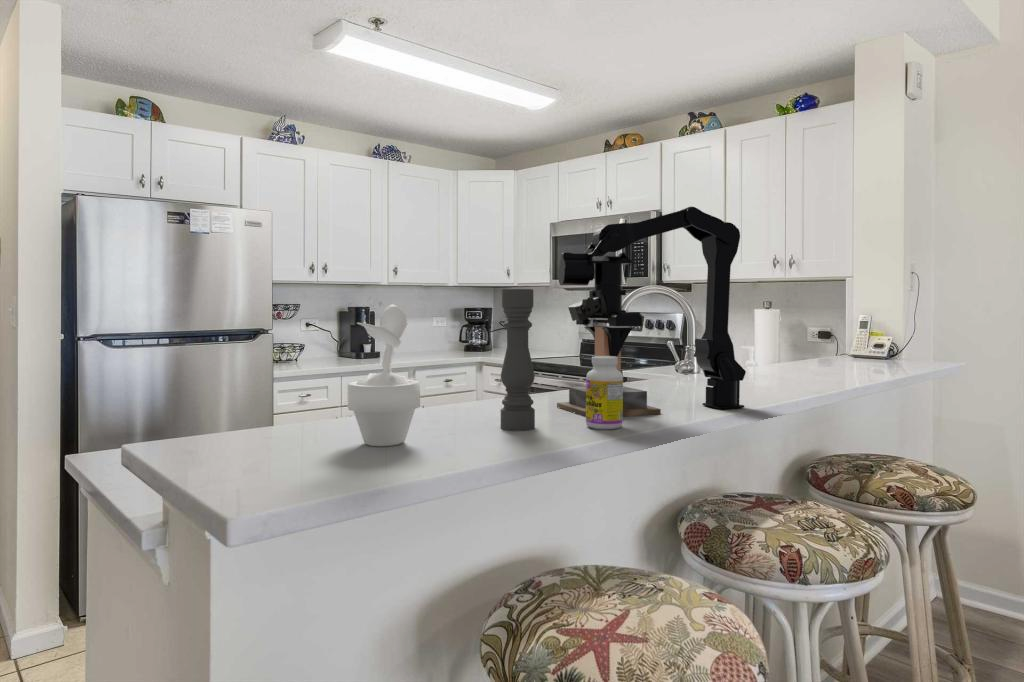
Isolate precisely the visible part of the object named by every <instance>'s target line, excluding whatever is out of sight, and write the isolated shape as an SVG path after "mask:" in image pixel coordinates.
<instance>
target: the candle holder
mask: <svg viewBox="0 0 1024 682" xmlns="http://www.w3.org/2000/svg"><path fill="white" fill-rule="evenodd" d="M501 308H502V310H503V311H502V312H503V313H504V315H505V317H506V320H505V321H504V322H503V324H502V326H503V327H504V328H505V331H506V350H505V354H504V359H503V363H502V367H501V372H500V380H501V381H500V382H501V383H502V384H503V386H504V387H505V390H504V391H505V392H506V395H505V396H504V398H503V399H502V401H501V404H502V405H503V407H501V408H500V429H501V430H505V431H511V432H513V431H514V432H517V431H518V432H520V431H521V432H523V431H530V430H534V429H535V428H536V427H535V423H536V418H535V417H536V412H535V410H536V409H535V408H534V407H532V405H534V400H533V399H532V397H531V395H530V394H529V392H531V389H530V388H531V387H532V385H533V383H534V382H535V371H534V366H533V363H532V358H531V357H532V356H531V353H530V348H529V331H530V329H531V328H532V327H533V322H531V321H530V320H529V318H530V317H531V314H532V312H533V310H532V309H533V308H534V289H533V288H531V289H530V288H529V289H528V288H526V289H525V288H508V289H506V288H505V289H501Z"/></svg>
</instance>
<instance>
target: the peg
mask: <svg viewBox="0 0 1024 682" xmlns="http://www.w3.org/2000/svg"><path fill="white" fill-rule="evenodd" d="M606 327H609V326H608V325H607V326H606ZM621 354H622V349H621V350H620V352H619V354H618V356H617V357H618V363H617V365H616V367H617V370H618V371H621V370H622V368H621V367H622V366H621V365H622V364H621V363H622V360H621V358H622V355H621ZM594 356H610V355H609V346H608V336H607V334H606V333H605V332H604V330H603V329H602V327H595V340H594Z"/></svg>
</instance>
